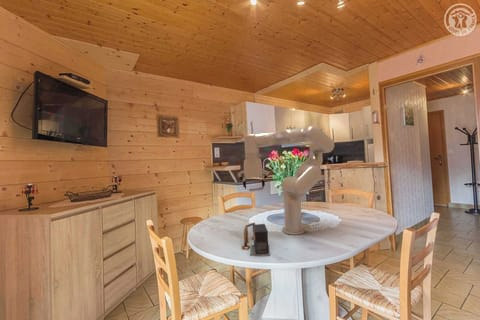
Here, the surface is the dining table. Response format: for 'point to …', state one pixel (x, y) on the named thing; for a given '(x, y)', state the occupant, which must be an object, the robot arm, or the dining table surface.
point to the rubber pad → (252, 253)
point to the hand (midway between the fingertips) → (254, 187)
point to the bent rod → (246, 237)
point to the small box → (260, 239)
